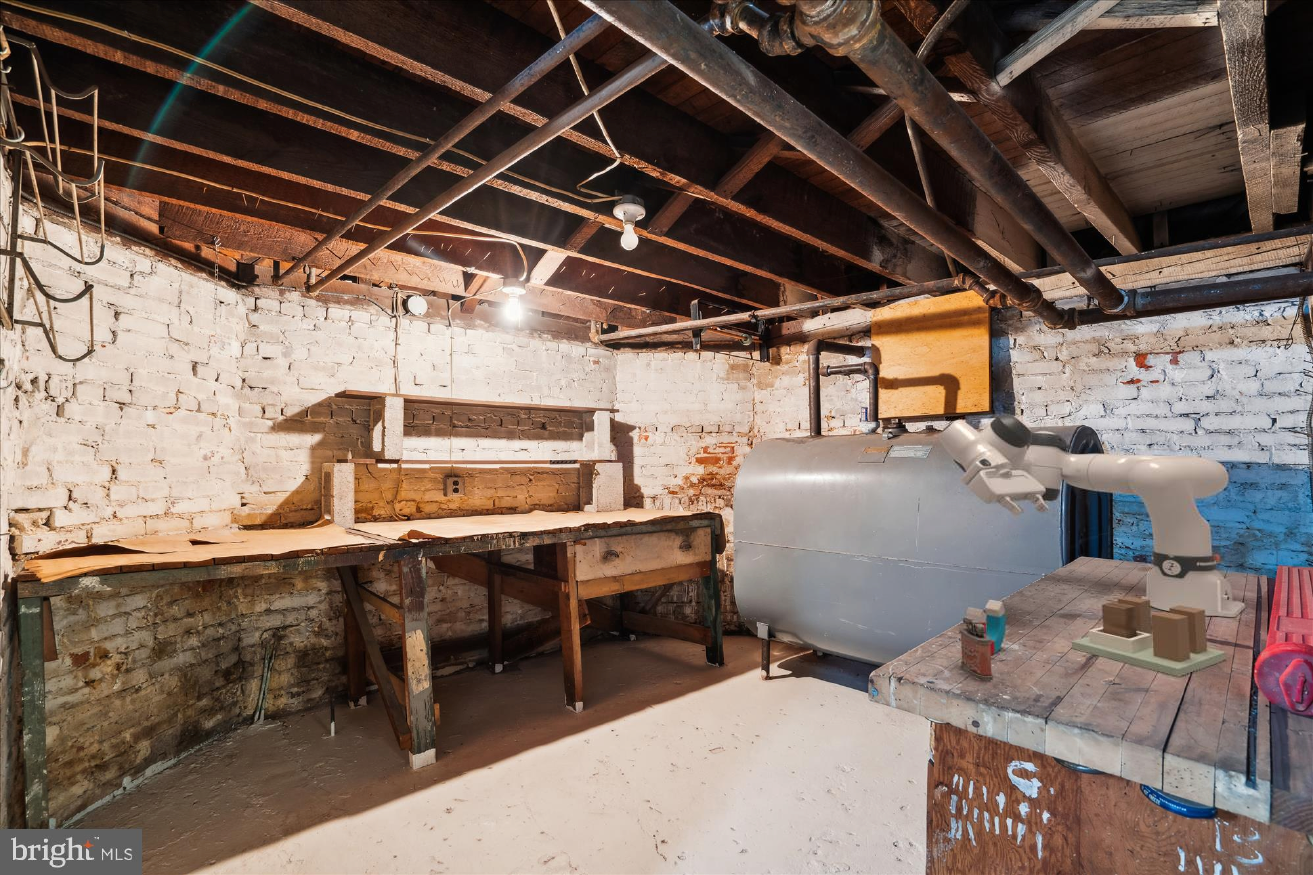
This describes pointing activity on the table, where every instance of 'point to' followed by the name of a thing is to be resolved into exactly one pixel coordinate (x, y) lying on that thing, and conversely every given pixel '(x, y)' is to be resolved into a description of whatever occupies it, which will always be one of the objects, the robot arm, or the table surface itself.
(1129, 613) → the leg
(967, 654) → the lighter
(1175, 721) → the table surface
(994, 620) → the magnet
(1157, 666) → the board
